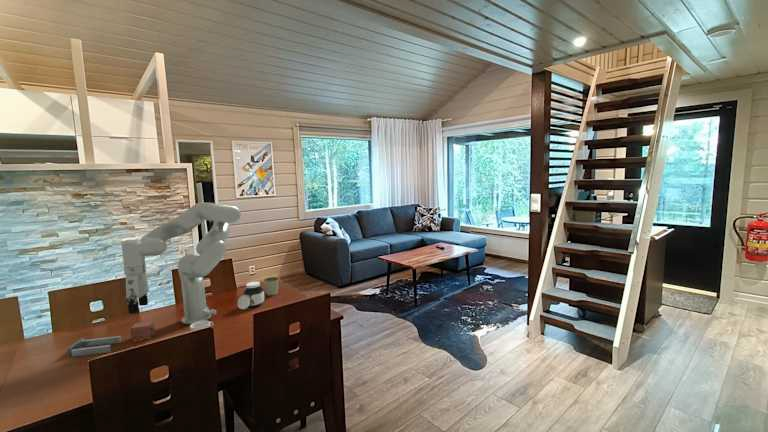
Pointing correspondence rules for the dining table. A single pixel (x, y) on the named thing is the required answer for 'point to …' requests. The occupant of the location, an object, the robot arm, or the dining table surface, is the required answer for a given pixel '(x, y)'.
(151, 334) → the lock block
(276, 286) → the flower pot
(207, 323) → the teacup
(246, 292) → the spread jar
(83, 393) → the dining table surface
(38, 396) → the dining table surface
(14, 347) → the dining table surface
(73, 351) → the hitch channel
